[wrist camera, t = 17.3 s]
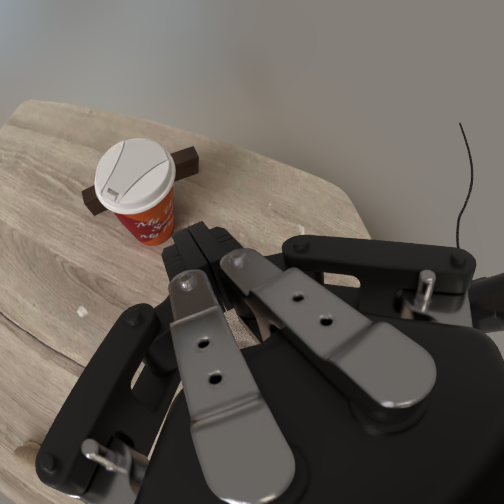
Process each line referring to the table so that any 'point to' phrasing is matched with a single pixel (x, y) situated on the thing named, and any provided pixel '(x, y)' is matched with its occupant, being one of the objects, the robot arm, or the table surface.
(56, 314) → the table surface
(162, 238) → the paper cup
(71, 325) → the table surface
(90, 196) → the bar
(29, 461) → the decorative ornament
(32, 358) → the table surface
